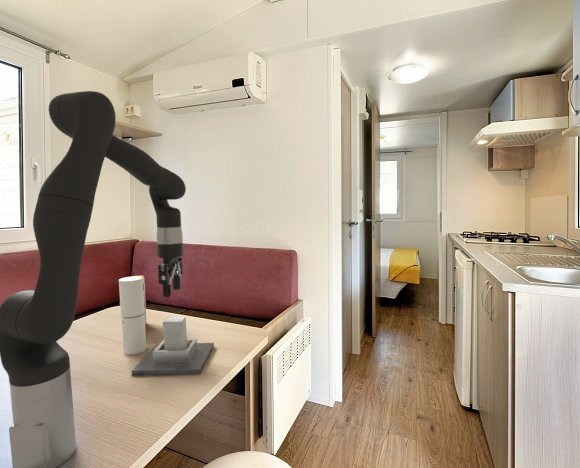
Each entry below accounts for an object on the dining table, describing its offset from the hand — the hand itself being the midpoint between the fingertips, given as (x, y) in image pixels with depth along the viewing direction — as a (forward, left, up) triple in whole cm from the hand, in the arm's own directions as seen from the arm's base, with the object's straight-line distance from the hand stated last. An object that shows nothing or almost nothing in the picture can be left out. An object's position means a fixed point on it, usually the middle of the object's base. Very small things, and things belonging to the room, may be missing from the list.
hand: (172, 293), depth 100 cm
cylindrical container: (+8, +17, -22) cm, 29 cm away
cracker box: (+26, +24, -22) cm, 42 cm away
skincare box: (0, 0, -21) cm, 21 cm away
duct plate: (0, 0, -22) cm, 22 cm away
